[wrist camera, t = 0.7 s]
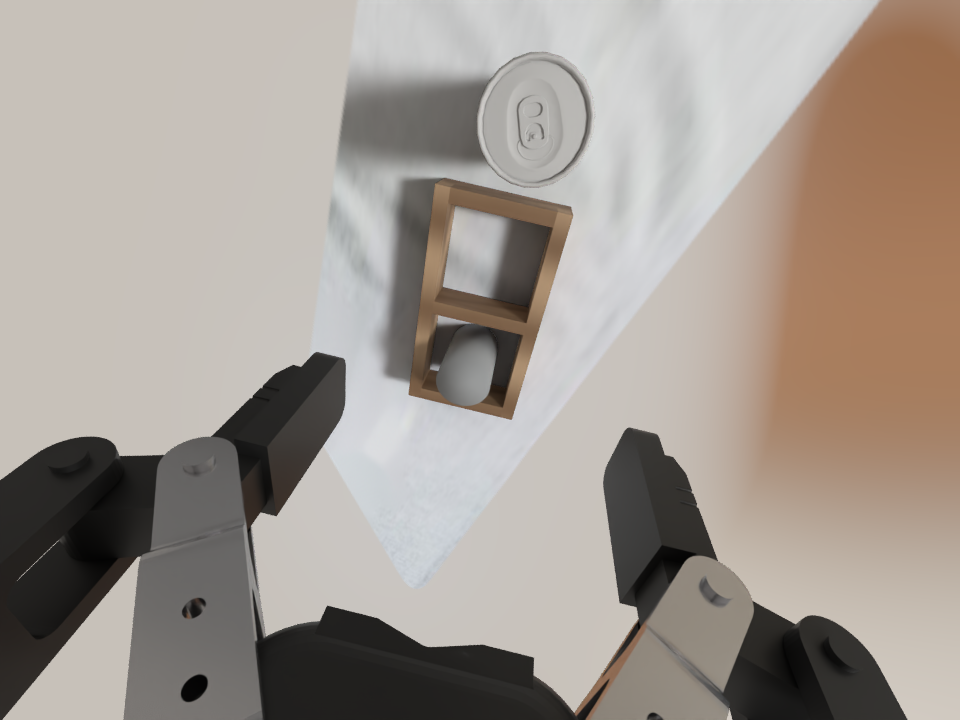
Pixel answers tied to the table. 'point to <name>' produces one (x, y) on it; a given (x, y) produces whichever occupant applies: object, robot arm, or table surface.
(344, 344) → the table surface
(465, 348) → the stub
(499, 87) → the beverage can
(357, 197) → the table surface
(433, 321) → the rack
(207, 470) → the robot arm
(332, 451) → the table surface
